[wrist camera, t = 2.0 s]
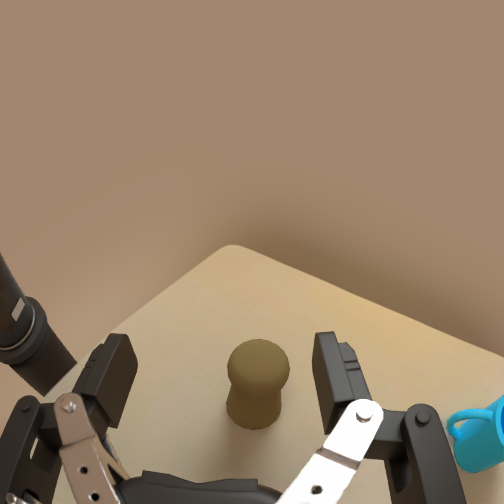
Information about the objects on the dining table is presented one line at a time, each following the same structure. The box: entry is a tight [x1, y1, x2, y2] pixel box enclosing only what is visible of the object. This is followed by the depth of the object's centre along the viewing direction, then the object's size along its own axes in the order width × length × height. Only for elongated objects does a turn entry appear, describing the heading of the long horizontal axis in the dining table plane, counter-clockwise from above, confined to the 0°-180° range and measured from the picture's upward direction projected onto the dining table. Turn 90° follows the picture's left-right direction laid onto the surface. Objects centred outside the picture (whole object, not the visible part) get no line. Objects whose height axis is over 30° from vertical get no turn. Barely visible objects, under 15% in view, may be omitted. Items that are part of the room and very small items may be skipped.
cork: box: [226, 339, 290, 430], centre depth 26 cm, size 6×6×11 cm
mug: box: [446, 395, 504, 473], centre depth 21 cm, size 12×8×8 cm
